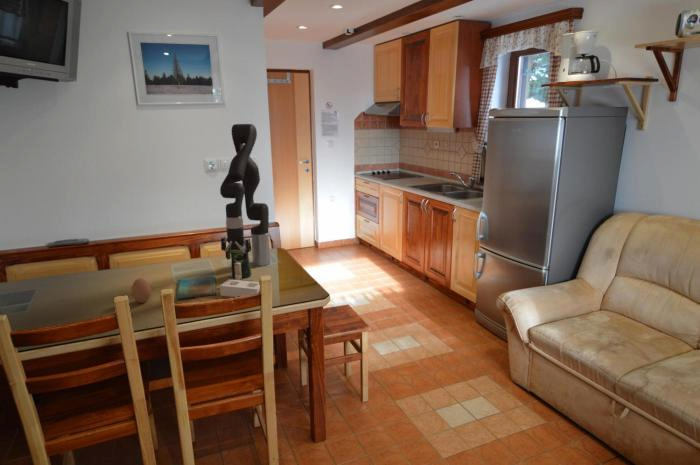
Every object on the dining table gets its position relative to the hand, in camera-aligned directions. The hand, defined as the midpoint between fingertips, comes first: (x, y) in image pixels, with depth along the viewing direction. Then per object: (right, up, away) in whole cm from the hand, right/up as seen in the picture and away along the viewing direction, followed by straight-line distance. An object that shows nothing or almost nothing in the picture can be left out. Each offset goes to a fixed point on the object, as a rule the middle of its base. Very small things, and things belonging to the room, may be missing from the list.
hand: (236, 259), depth 203 cm
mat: (0, -12, +3) cm, 12 cm away
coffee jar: (-1, -9, +14) cm, 17 cm away
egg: (-36, -17, -17) cm, 43 cm away
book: (-18, -14, -2) cm, 23 cm away
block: (+5, -15, -9) cm, 18 cm away
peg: (0, -11, +3) cm, 12 cm away
